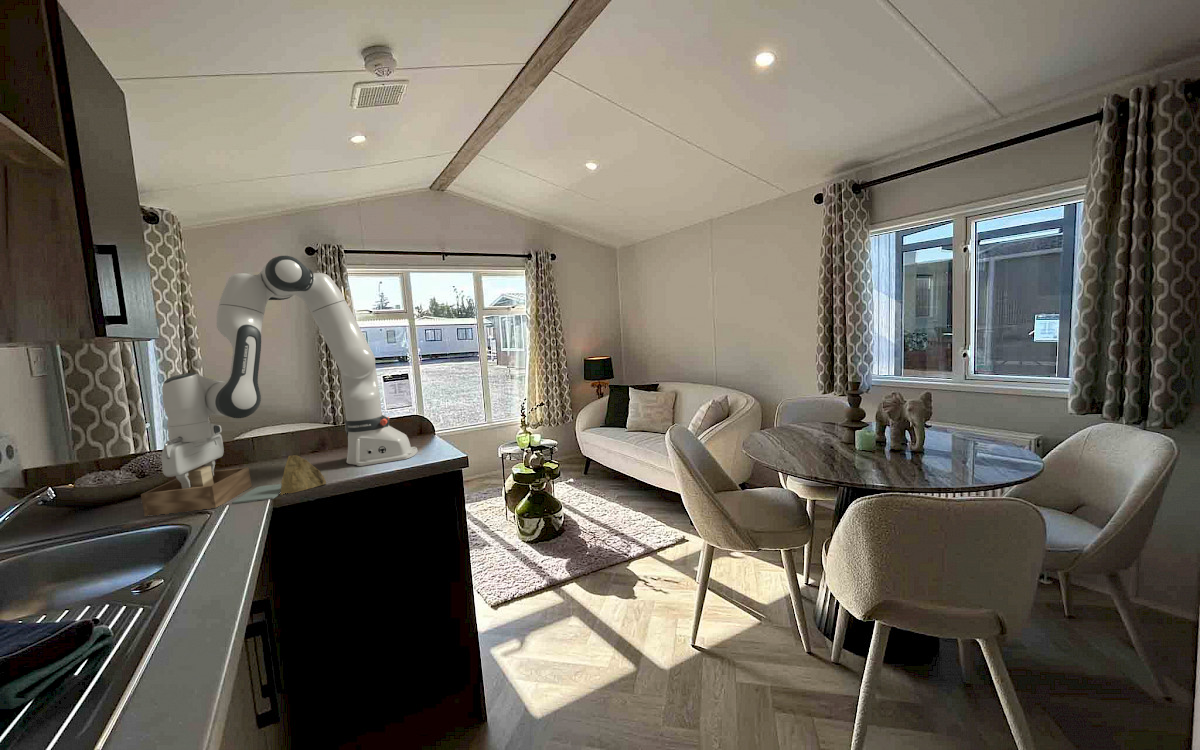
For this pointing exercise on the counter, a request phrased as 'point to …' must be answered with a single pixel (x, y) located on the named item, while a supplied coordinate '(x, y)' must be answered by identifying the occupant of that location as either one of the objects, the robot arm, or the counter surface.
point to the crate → (196, 493)
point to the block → (201, 476)
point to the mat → (260, 493)
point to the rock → (300, 476)
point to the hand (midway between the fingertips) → (198, 482)
